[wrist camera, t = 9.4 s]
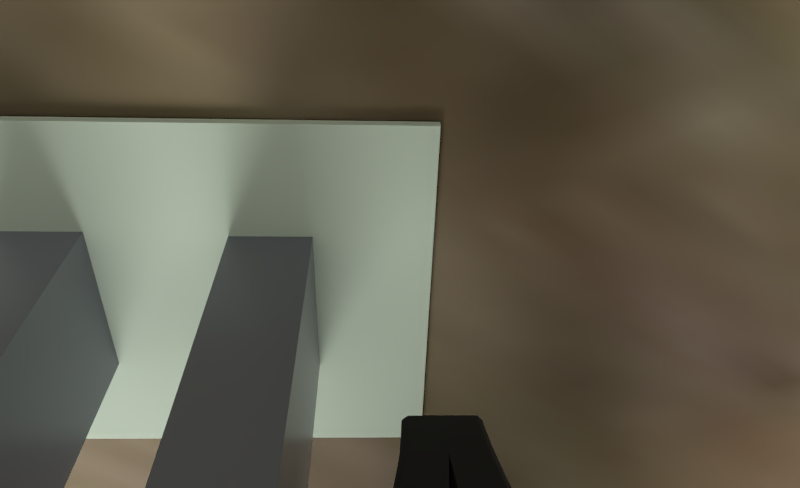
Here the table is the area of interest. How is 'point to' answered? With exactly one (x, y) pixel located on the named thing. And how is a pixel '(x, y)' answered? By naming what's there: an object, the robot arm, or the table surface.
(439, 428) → the robot arm
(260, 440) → the tile
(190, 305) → the felt strip
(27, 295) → the tile
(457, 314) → the table surface
